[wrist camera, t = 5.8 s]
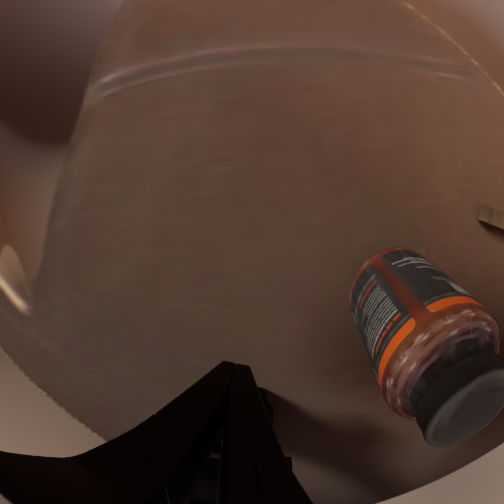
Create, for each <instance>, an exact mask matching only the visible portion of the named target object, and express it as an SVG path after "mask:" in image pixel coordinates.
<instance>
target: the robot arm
mask: <svg viewBox="0 0 504 504" xmlns="http://www.w3.org/2000/svg"><path fill="white" fill-rule="evenodd" d="M263 392H264V391H263V389H261V388H258V387H257V384H256V382H255V379H254V376H253V374H252V371H251V368H250V367H249V366H248V365H242V364H237V365H236V364H235V363H233V362H228V361H222V362H221V363H220V364H218V365H217V366H216V367H215V368H214V369H212V370H211V371H210V372H209V373H207V374H206V375H205V376H204V377H202V378H201V379H200V380H198V381H197V382H196V383H195V384H193V385H192V386H191V387H189V388H188V389H187V390H186V391H184V392H183V393H182V394H180V395H179V396H178V397H176V398H175V399H174V400H172V401H171V402H170V403H169V404H167V405H166V406H164V407H163V408H162V409H160V410H159V411H158V412H156V413H155V415H152V416H151V417H149V418H148V419H147V420H145V421H144V422H142V423H141V424H139V425H138V426H136V427H135V428H133V429H131V430H129V431H128V432H126V433H124V434H122V435H120V436H118V437H116V438H114V439H112V440H110V441H108V442H106V443H104V444H102V445H100V446H98V447H96V448H94V449H91V450H89V451H87V452H85V453H82V454H80V455H76V456H72V457H66V458H58V457H57V458H56V457H42V456H31V455H22V454H15V453H8V452H3V451H0V504H313V503H312V501H311V500H310V498H309V497H308V495H307V494H306V492H305V491H304V489H303V488H302V486H301V484H300V483H299V481H298V480H297V478H296V476H295V475H294V473H293V471H292V459H291V457H286V456H285V455H284V453H283V450H282V448H281V446H280V443H278V442H279V441H278V438H277V436H276V433H275V431H274V428H273V416H274V413H273V409H272V407H271V405H270V404H269V403H268V402H267V401H266V394H265V393H263Z"/></svg>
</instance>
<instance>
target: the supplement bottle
mask: <svg viewBox="0 0 504 504" xmlns="http://www.w3.org/2000/svg"><path fill="white" fill-rule="evenodd" d="M350 306H351V310H352V314H353V317H354V319H355V322H356V324H357V327H358V329H359V332H360V334H361V337H362V339H363V342H364V344H365V347H366V350H367V353H368V356H369V358H370V360H371V364H372V366H373V369H374V371H375V374H376V377H377V380H378V382H379V385H380V388H381V390H382V393H383V396H384V398H385V401H386V402H387V404H388V406H389V407H390V408H391V410H393V411H394V412H395V413H396V414H398V415H399V416H401V417H403V418H407V419H410V420H416V422H417V424H418V426H419V427H420V429H421V431H422V433H423V436H424V439H425V440H426V442H427V443H428V444H429V445H430V446H433V447H438V448H440V447H448V446H452V445H456V444H458V443H460V442H463V441H465V440H466V439H468V438H470V437H472V436H473V435H475V434H476V433H478V432H479V431H480V430H482V429H483V428H484V427H486V426H487V425H488V424H489V423H490V422H491V421H492V420H493V419H494V418H495V417H496V416H497V415H498V413H499V412H500V411H501V409H502V408H503V406H504V363H503V361H502V360H501V358H500V356H499V355H498V352H499V345H500V337H499V330H498V326H497V324H496V322H495V320H494V318H493V317H492V316H491V314H490V313H489V312H488V311H487V310H486V309H485V308H484V307H483V306H482V305H481V304H480V303H478V302H477V301H476V300H475V299H474V298H473V297H472V296H471V295H470V294H469V293H467V292H466V291H465V290H464V289H462V288H461V287H460V286H459V285H458V284H457V283H455V282H454V281H453V280H452V279H450V278H449V277H448V276H447V275H445V274H444V273H443V272H442V271H440V270H439V269H438V268H436V267H435V266H434V265H433V264H431V263H430V262H429V261H427V260H426V259H425V258H424V257H422V256H421V255H419V254H417V253H416V252H413V251H412V250H409V249H403V248H391V249H387V250H384V251H381V252H379V253H377V254H376V255H374V256H372V257H371V258H370V259H368V260H367V261H366V262H365V263H364V264H363V265H362V266H361V268H360V269H359V270H358V272H357V274H356V275H355V277H354V280H353V282H352V285H351V289H350Z"/></svg>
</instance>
